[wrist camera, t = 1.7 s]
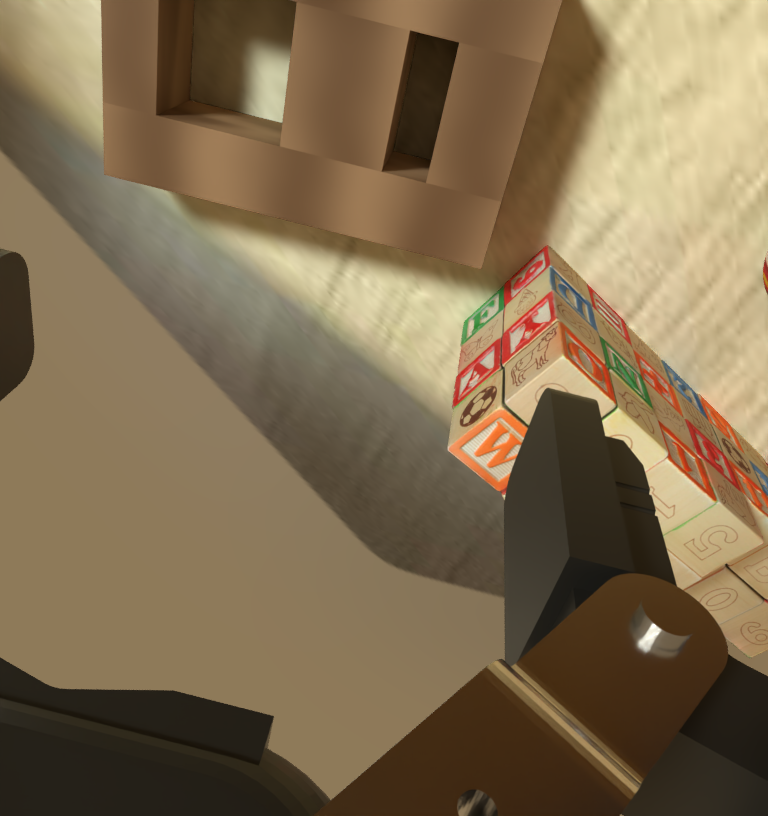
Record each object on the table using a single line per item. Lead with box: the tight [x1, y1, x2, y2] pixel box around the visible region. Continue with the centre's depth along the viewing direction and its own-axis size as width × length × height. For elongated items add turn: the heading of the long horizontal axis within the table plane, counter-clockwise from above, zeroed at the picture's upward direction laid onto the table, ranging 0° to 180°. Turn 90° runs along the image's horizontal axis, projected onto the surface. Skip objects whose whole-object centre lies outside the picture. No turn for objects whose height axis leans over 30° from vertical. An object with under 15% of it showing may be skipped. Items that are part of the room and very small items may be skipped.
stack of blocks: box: [448, 245, 768, 658], centre depth 35 cm, size 21×6×12 cm, turn 49°
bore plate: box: [101, 0, 562, 269], centre depth 31 cm, size 18×12×4 cm, turn 78°
